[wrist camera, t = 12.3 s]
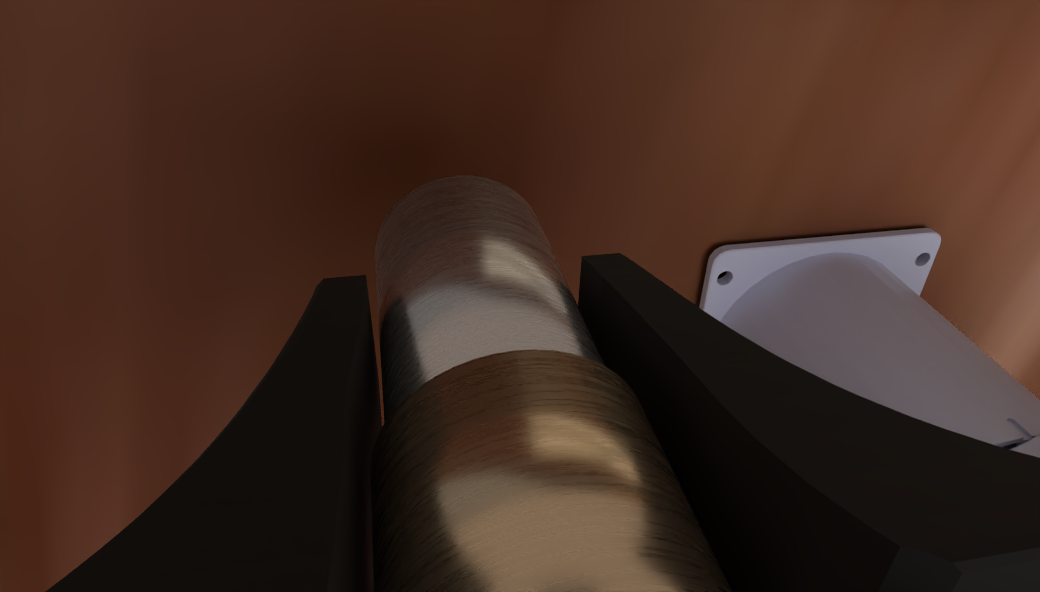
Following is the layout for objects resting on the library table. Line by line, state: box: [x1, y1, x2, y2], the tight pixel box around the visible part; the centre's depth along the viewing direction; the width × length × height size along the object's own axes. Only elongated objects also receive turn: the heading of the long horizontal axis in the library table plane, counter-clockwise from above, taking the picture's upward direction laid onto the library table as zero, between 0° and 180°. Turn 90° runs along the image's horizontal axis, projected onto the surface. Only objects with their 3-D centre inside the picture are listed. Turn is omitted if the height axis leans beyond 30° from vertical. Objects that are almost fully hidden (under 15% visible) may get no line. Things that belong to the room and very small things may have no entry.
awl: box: [370, 175, 732, 592], centre depth 10 cm, size 3×3×8 cm
